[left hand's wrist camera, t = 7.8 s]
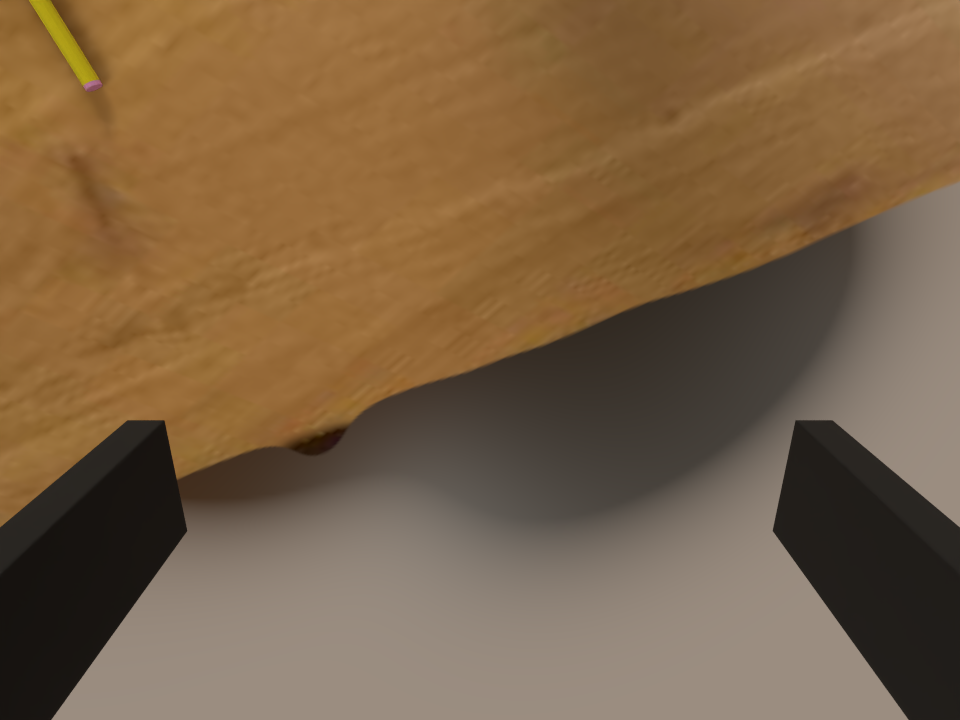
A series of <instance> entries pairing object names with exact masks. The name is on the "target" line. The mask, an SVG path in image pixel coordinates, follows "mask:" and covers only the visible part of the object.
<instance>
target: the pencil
mask: <svg viewBox="0 0 960 720" xmlns="http://www.w3.org/2000/svg"><path fill="white" fill-rule="evenodd" d="M29 1H30V3H31V5H32V6H33V8H34V9H35V11H36V12H37V14H38V16H39V17H40V19H41V20H42V22H43V24H44V25H45V27H46V28H47V30H48V31H49V33H50V35H51V36H52V38H53V39H54V41H55V43H56V44H57V46H58V47H59V49H60V51H61V52H62V54H63V55H64V57H65V58H66V60H67V62H68V63H69V65H70V66H71V68H72V70H73V71H74V73H75V74H76V76H77V77H78V79H79V81H80V82H81V84H82V85H83V87H84V88H85V90H86V91H87V92H90V91H94V90H97V89H99V88H101V87H102V85H103V84H102V83H101V81H100V80H99V78H98V76H97V75H96V73H95V71H94V70H93V68H92V67H91V65H90V63H89V62H88V60H87V59H86V57H85V55H84V54H83V52H82V50H81V49H80V47H79V46H78V44H77V42H76V41H75V39H74V38H73V36H72V34H71V33H70V31H69V30H68V28H67V26H66V25H65V23H64V21H63V20H62V18H61V17H60V15H59V13H58V12H57V10H56V9H55V7H54V5H53V4H52V2H51V0H29Z"/></svg>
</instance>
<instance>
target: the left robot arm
mask: <svg viewBox="0 0 960 720" xmlns="http://www.w3.org/2000/svg"><path fill="white" fill-rule="evenodd" d="M186 532H187V528H186V523H185V518H184V513H183V508H182V503H181V498H180V494H179V489H178V484H177V479H176V474H175V469H174V465H173V460H172V455H171V450H170V445H169V440H168V436H167V431H166V426H165V421H164V420H128V421H126V422H125V423H124V424H123V425H122V426H120V427H119V428H118V429H117V430H116V431H114V432H113V433H112V434H111V435H110V436H108V437H107V438H106V439H105V440H104V441H103V442H101V443H100V444H99V445H98V446H97V447H95V448H94V449H93V450H92V451H91V452H89V453H88V454H87V455H86V456H85V457H84V458H82V459H81V460H80V461H79V462H78V463H76V464H75V465H74V466H73V467H72V468H70V469H69V470H68V471H67V472H66V473H64V474H63V475H62V476H61V477H60V478H59V479H57V480H56V481H55V482H54V483H53V484H51V485H50V486H49V487H48V488H47V489H45V490H44V491H43V492H42V493H41V494H40V495H38V496H37V497H36V498H35V499H34V500H32V501H31V502H30V503H29V504H28V505H26V506H25V507H24V508H23V509H22V510H20V511H19V512H18V513H17V514H16V515H15V516H13V517H12V518H11V519H10V520H9V521H7V522H6V523H5V524H4V525H3V526H1V527H0V720H51V719H52V718H53V717H54V715H55V714H56V712H57V711H58V710H59V708H60V707H61V706H62V704H63V703H64V701H65V700H66V699H67V697H68V696H69V694H70V693H71V692H72V690H73V689H74V687H75V686H76V685H77V683H78V682H79V681H80V679H81V678H82V676H83V675H84V674H85V672H86V671H87V669H88V668H89V667H90V665H91V664H92V662H93V661H94V660H95V658H96V657H97V655H98V654H99V653H100V651H101V650H102V649H103V647H104V646H105V644H106V643H107V641H108V640H109V639H110V637H111V636H112V635H113V633H114V632H115V630H116V629H117V628H118V626H119V625H120V623H121V622H122V621H123V619H124V618H125V617H126V615H127V614H128V612H129V611H130V610H131V608H132V607H133V605H134V604H135V603H136V601H137V600H138V598H139V597H140V596H141V594H142V593H143V592H144V590H145V589H146V587H147V586H148V585H149V583H150V582H151V580H152V579H153V578H154V576H155V575H156V574H157V572H158V571H159V569H160V568H161V567H162V565H163V564H164V562H165V561H166V560H167V558H168V557H169V555H170V554H171V553H172V551H173V550H174V549H175V547H176V546H177V544H178V543H179V542H180V540H181V539H182V537H183V536H184V535H185V533H186ZM773 532H774V533H775V535H776V536H777V537H778V539H779V540H780V542H781V543H782V544H783V546H784V547H785V549H786V550H787V551H788V553H789V554H790V555H791V557H792V558H793V560H794V561H795V562H796V564H797V565H798V567H799V568H800V569H801V571H802V572H803V574H804V575H805V576H806V578H807V579H808V580H809V582H810V583H811V585H812V586H813V587H814V589H815V590H816V592H817V593H818V594H819V596H820V597H821V599H822V600H823V601H824V603H825V604H826V605H827V607H828V608H829V610H830V611H831V612H832V614H833V615H834V617H835V618H836V619H837V621H838V622H839V624H840V625H841V626H842V628H843V629H844V630H845V632H846V633H847V635H848V636H849V637H850V639H851V640H852V642H853V643H854V644H855V646H856V647H857V649H858V650H859V651H860V653H861V654H862V656H863V657H864V658H865V660H866V661H867V662H868V664H869V665H870V667H871V668H872V669H873V671H874V672H875V674H876V675H877V676H878V678H879V679H880V680H881V682H882V683H883V685H884V686H885V687H886V689H887V690H888V692H889V693H890V694H891V696H892V697H893V698H894V700H895V701H896V703H897V704H898V706H899V707H900V708H901V710H902V711H903V712H904V714H905V715H906V717H907V718H908V719H909V720H960V527H959V526H957V525H956V524H955V523H954V522H953V521H951V520H950V519H949V518H948V517H947V516H945V515H944V514H943V513H942V512H941V511H939V510H938V509H937V508H936V507H935V506H934V505H932V504H931V503H930V502H929V501H928V500H926V499H925V498H924V497H923V496H922V495H920V494H919V493H918V492H917V491H916V490H915V489H913V488H912V487H911V486H910V485H909V484H907V483H906V482H905V481H904V480H903V479H901V478H900V477H899V476H898V475H897V474H896V473H894V472H893V471H892V470H891V469H890V468H888V467H887V466H886V465H885V464H884V463H882V462H881V461H880V460H879V459H878V458H876V457H875V456H874V455H873V454H872V453H871V452H869V451H868V450H867V449H866V448H865V447H863V446H862V445H861V444H860V443H859V442H857V441H856V440H855V439H854V438H853V437H851V436H850V435H849V434H848V433H847V432H846V431H844V430H843V429H842V428H841V427H840V426H838V425H837V424H836V423H835V422H834V421H831V420H827V421H825V420H816V421H815V420H813V421H812V420H810V421H808V420H803V421H801V420H796V421H795V426H794V431H793V436H792V440H791V445H790V450H789V455H788V460H787V465H786V470H785V474H784V479H783V484H782V489H781V494H780V499H779V503H778V508H777V513H776V518H775V523H774V527H773Z"/></svg>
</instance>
